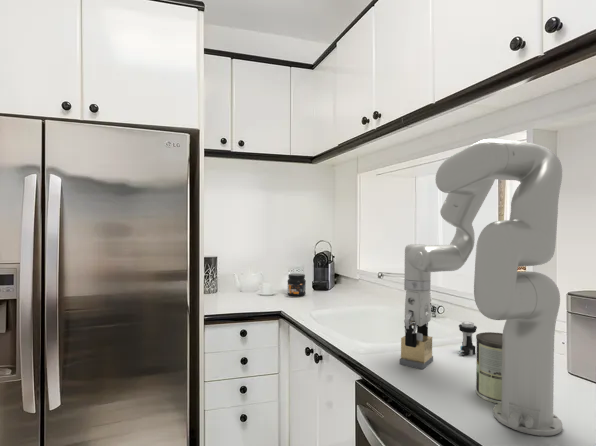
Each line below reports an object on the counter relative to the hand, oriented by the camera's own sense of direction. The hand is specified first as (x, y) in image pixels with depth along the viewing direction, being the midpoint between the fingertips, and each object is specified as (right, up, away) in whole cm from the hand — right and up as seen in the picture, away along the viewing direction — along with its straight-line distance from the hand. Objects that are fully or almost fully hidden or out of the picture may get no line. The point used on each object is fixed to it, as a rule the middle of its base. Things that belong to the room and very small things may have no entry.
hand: (416, 342), depth 118 cm
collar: (0, -5, 0) cm, 4 cm away
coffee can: (+13, -6, -22) cm, 27 cm away
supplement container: (-37, -6, +107) cm, 114 cm away
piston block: (0, -6, 0) cm, 6 cm away
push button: (+18, -6, +8) cm, 21 cm away
